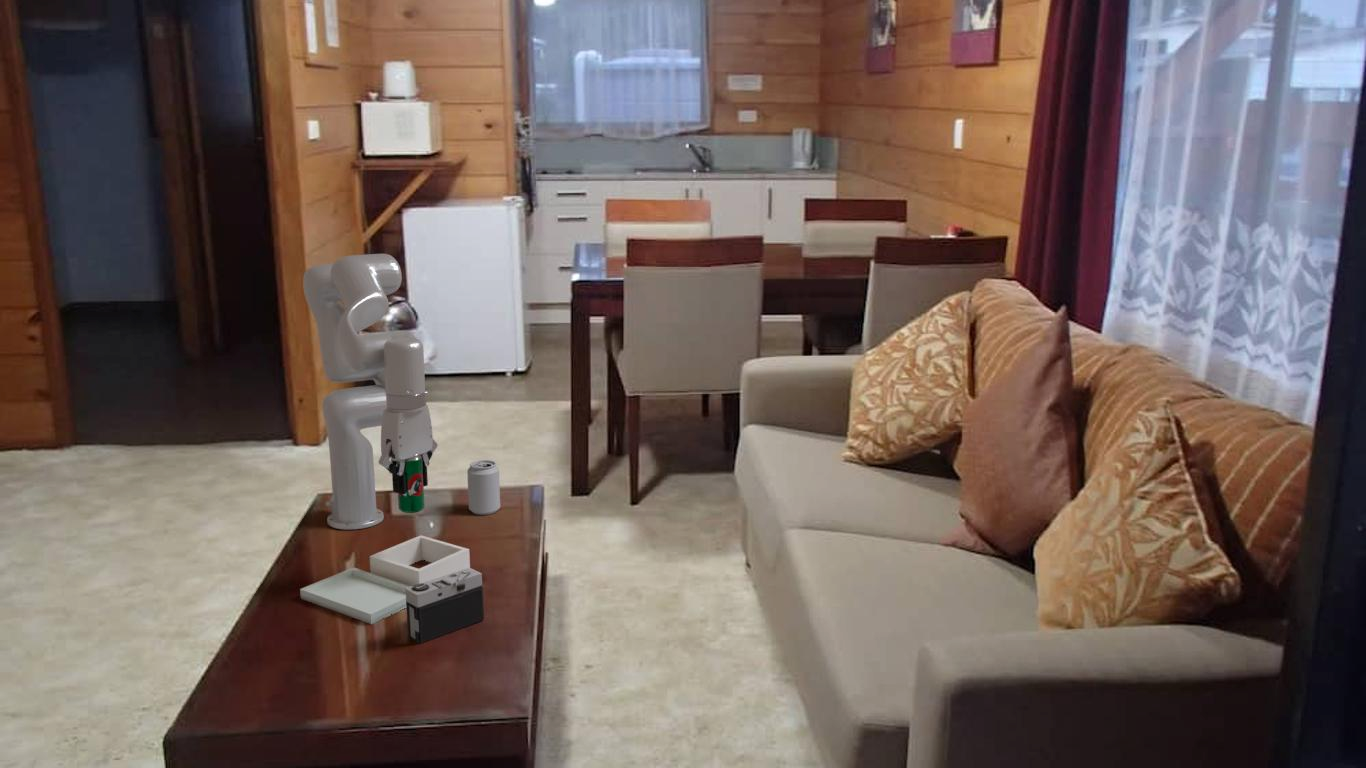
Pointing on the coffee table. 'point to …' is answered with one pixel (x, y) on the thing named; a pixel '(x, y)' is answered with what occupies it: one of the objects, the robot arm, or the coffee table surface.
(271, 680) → the coffee table surface
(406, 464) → the soda can
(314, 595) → the tray
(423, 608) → the camera
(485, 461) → the can
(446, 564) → the holder
